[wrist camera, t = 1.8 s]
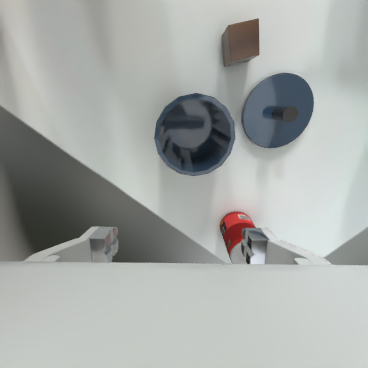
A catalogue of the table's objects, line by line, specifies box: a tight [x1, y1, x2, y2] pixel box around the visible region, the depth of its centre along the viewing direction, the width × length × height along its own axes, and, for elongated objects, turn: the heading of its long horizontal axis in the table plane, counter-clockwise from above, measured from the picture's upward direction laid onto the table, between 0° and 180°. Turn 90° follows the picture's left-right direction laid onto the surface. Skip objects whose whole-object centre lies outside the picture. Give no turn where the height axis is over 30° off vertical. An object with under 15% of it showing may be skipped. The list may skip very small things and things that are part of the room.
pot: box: [154, 93, 235, 176], centre depth 32 cm, size 12×12×9 cm
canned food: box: [220, 212, 256, 264], centre depth 41 cm, size 8×8×11 cm
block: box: [222, 19, 259, 66], centre depth 29 cm, size 4×4×4 cm
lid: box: [243, 73, 314, 148], centre depth 33 cm, size 13×13×5 cm
